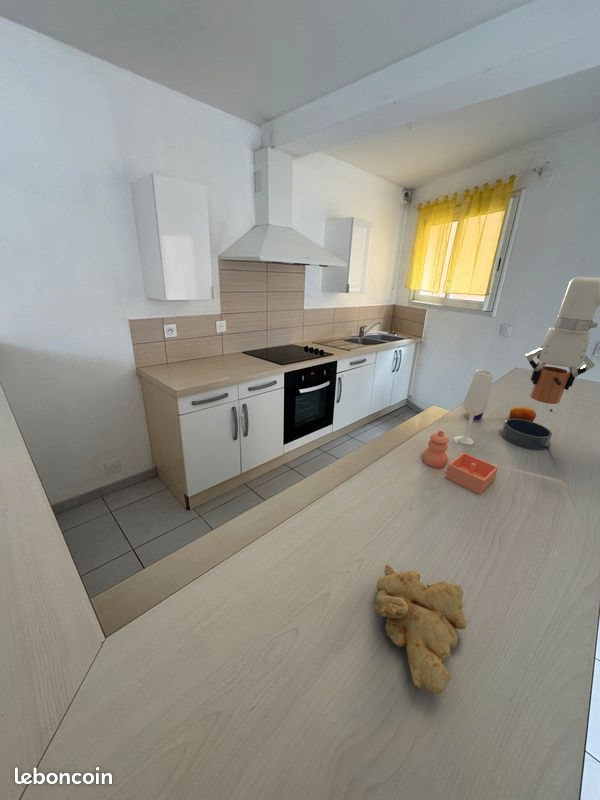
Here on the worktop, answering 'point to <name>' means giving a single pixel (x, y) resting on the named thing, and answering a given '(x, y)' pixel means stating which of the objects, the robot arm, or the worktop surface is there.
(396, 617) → the ginger root
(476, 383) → the champagne flute
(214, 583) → the worktop surface
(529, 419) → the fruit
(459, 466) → the pottery
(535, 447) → the shallow round gray bowl
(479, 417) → the energy drink
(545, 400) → the cup
